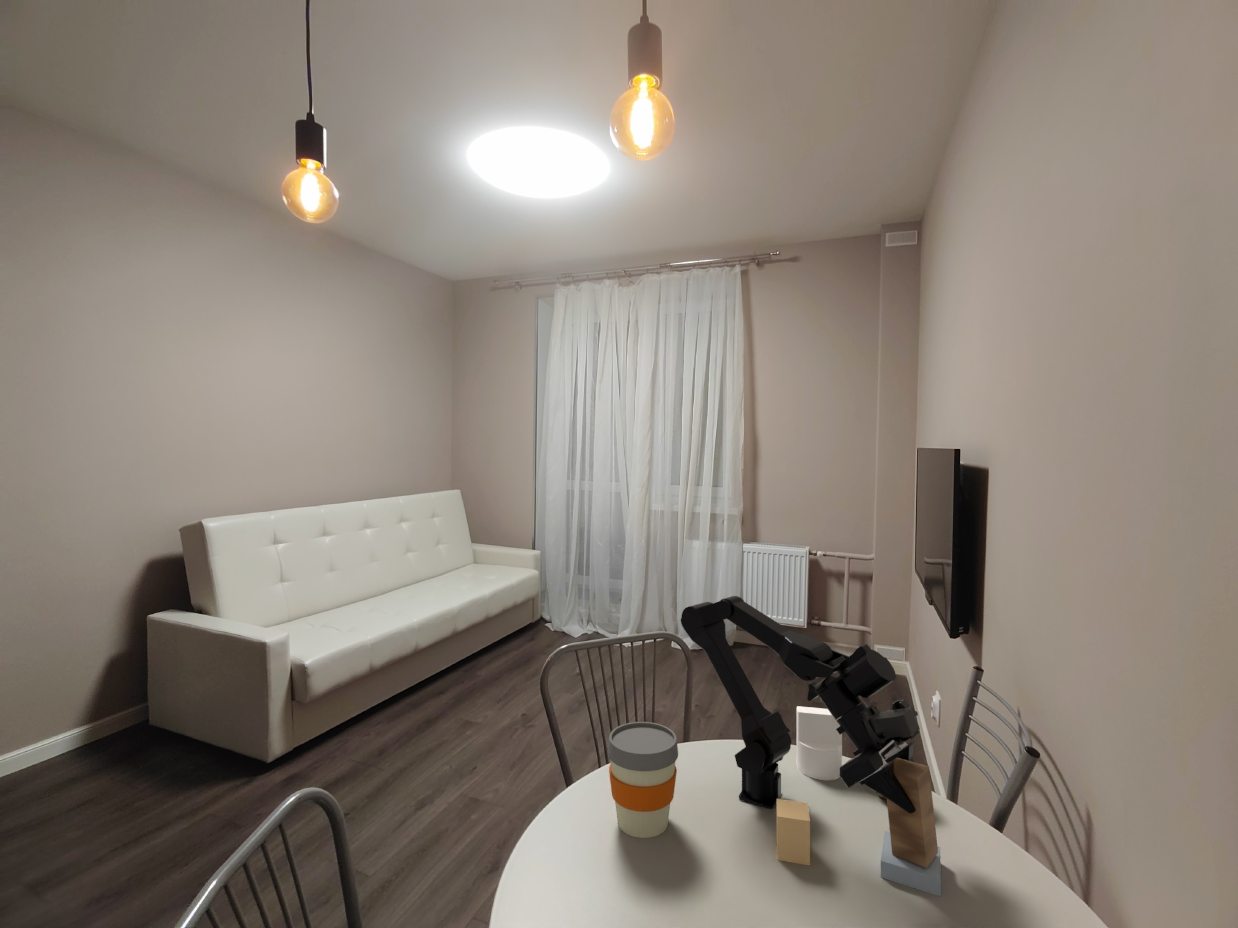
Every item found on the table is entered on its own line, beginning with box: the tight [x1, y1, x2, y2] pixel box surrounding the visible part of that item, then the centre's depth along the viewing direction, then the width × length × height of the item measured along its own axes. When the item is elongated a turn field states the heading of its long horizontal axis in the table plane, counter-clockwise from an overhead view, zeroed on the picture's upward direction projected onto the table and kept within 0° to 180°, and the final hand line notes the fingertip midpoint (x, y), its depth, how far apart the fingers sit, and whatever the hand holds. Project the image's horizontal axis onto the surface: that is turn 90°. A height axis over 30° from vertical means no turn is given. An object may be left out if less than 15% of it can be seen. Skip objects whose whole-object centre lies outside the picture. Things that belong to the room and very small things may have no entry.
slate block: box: [880, 830, 942, 897], centre depth 89 cm, size 8×8×3 cm
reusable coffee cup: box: [607, 721, 679, 839], centre depth 101 cm, size 12×13×15 cm
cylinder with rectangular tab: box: [796, 705, 843, 781], centre depth 118 cm, size 9×9×12 cm
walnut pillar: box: [886, 758, 939, 868], centre depth 89 cm, size 5×5×13 cm
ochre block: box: [776, 798, 811, 866], centre depth 93 cm, size 5×5×7 cm
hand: (919, 804), depth 88 cm, fingers closed on walnut pillar, 5 cm apart
